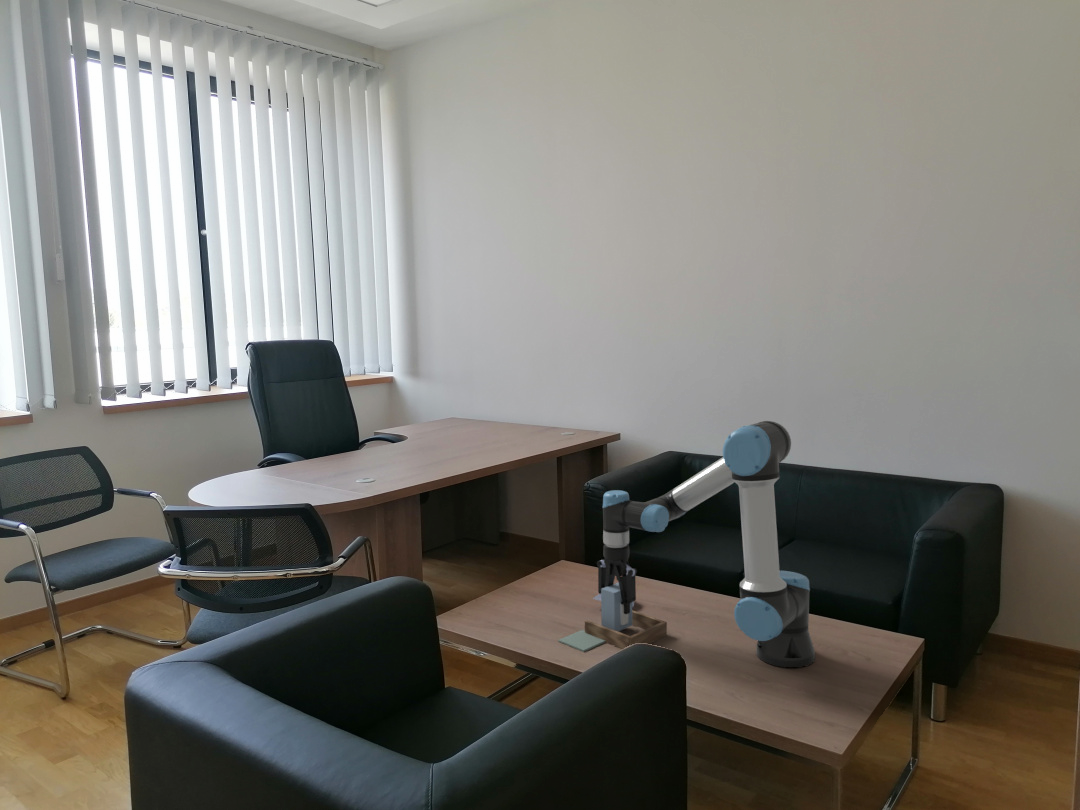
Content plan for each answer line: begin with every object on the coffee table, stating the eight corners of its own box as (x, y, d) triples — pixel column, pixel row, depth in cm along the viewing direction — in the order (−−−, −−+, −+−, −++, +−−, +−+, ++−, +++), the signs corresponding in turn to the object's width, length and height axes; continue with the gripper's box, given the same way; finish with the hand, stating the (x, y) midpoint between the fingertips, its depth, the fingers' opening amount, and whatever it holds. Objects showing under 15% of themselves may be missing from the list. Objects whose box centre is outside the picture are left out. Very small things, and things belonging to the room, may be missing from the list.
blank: (632, 625, 233) (632, 586, 232) (614, 633, 228) (614, 593, 226) (619, 620, 237) (619, 582, 235) (601, 628, 231) (601, 588, 230)
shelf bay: (666, 635, 229) (666, 621, 229) (631, 652, 218) (630, 638, 218) (620, 619, 242) (620, 606, 241) (584, 634, 231) (584, 621, 230)
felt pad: (607, 641, 226) (607, 639, 226) (583, 651, 219) (583, 650, 219) (582, 631, 233) (582, 629, 233) (558, 641, 226) (558, 639, 226)
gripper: (648, 547, 225) (649, 625, 228) (601, 535, 238) (602, 609, 241) (631, 553, 220) (632, 633, 223) (584, 540, 233) (585, 616, 236)
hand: (617, 620), depth 232 cm, fingers closed on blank, 5 cm apart
